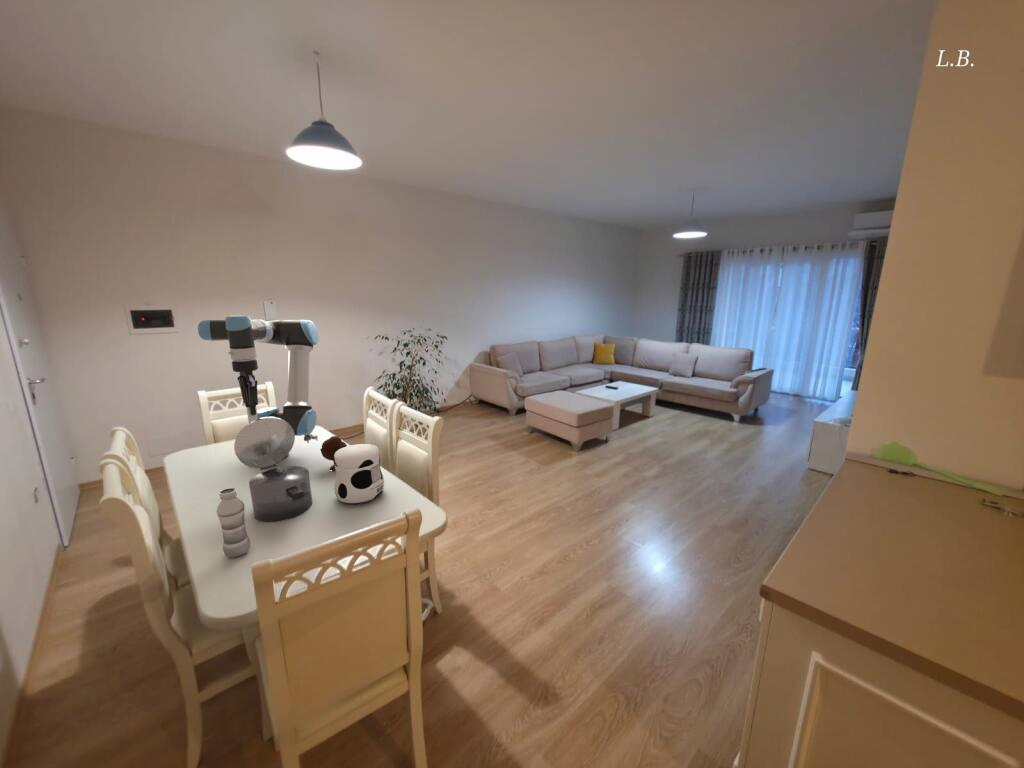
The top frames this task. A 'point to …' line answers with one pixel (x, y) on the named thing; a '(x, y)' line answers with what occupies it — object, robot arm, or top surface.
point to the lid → (264, 442)
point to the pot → (280, 493)
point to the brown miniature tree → (332, 448)
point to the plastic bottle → (232, 524)
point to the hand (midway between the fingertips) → (253, 422)
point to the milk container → (358, 474)
